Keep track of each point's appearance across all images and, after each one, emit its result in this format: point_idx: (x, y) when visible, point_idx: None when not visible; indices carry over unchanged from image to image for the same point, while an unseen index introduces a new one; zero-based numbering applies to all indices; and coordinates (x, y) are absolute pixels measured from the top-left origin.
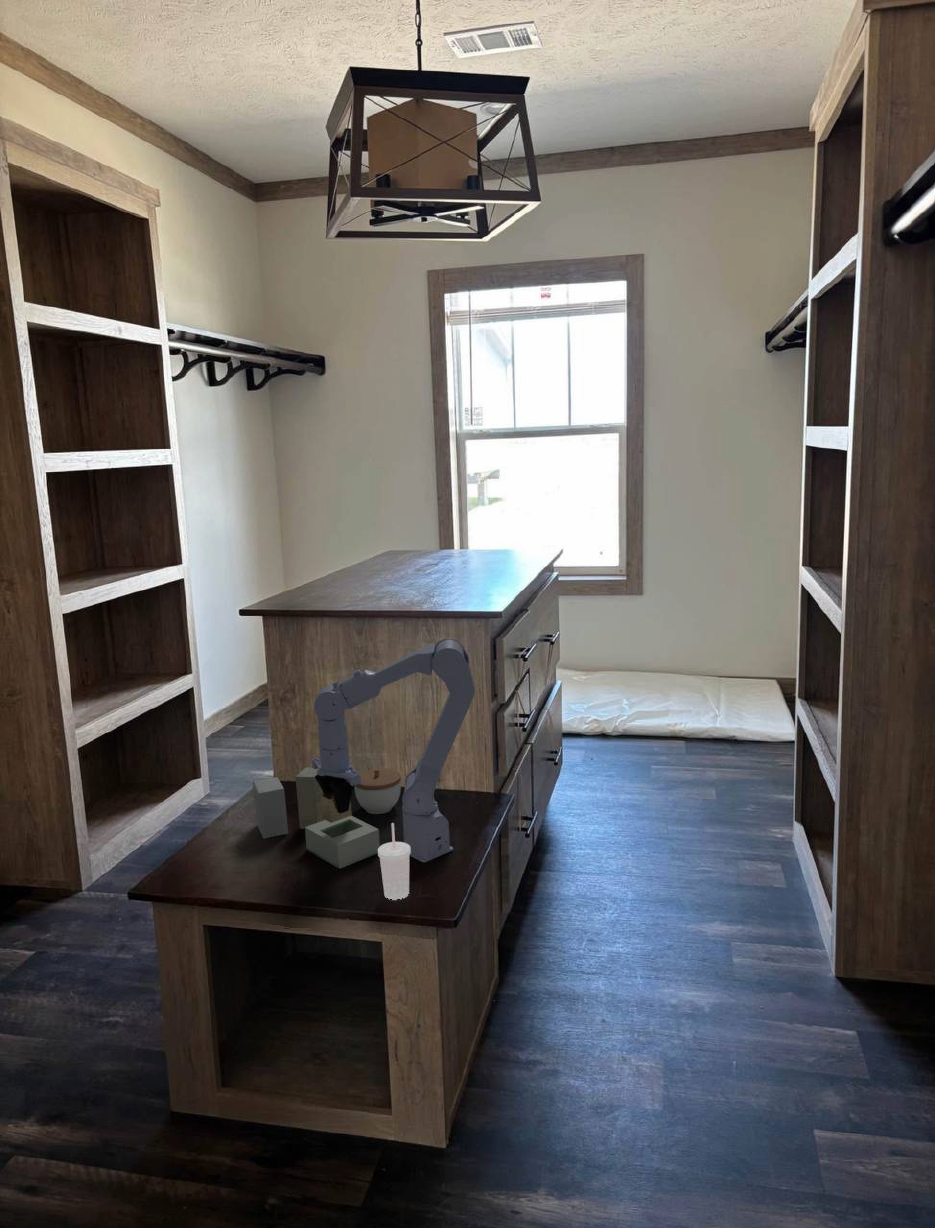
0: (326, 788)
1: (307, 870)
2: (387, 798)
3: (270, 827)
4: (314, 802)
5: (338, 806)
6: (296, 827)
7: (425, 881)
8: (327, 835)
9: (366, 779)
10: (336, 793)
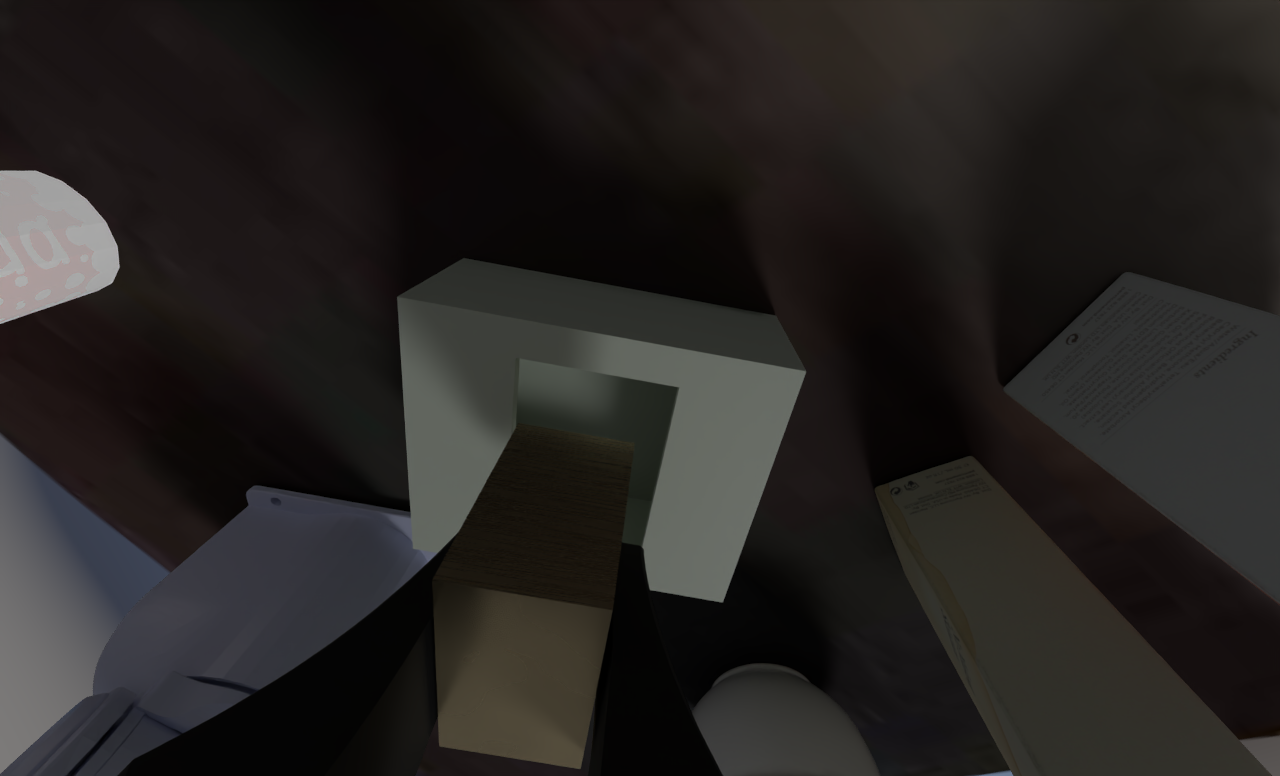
0: (601, 729)
1: (587, 140)
2: None
3: (1130, 333)
4: (949, 605)
5: (432, 558)
6: (1002, 459)
7: (111, 385)
8: (575, 364)
9: None
10: (301, 684)
